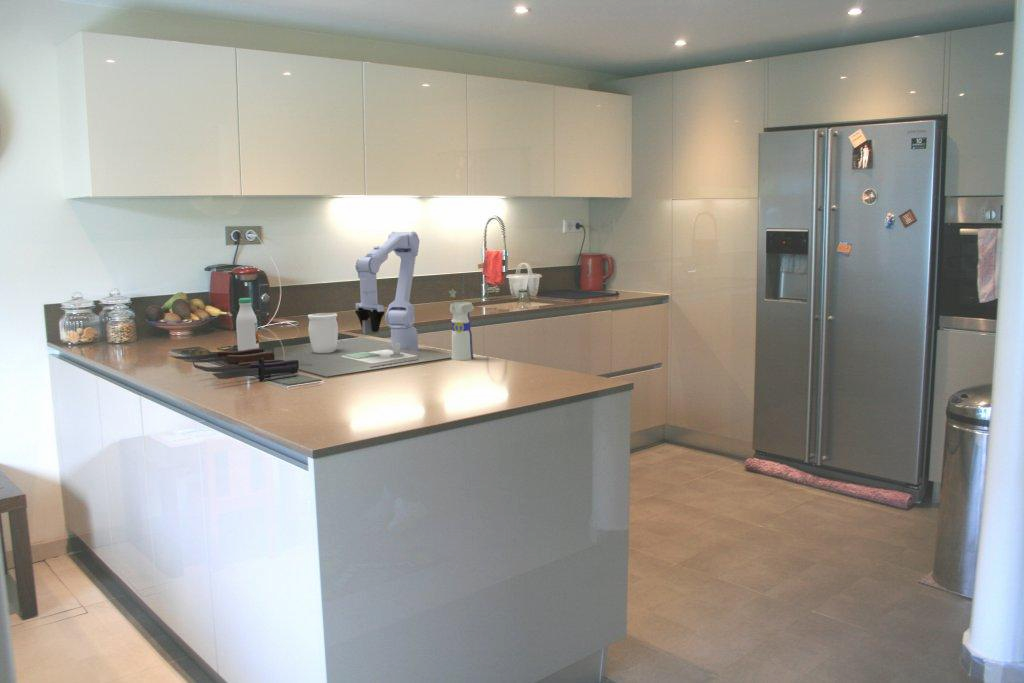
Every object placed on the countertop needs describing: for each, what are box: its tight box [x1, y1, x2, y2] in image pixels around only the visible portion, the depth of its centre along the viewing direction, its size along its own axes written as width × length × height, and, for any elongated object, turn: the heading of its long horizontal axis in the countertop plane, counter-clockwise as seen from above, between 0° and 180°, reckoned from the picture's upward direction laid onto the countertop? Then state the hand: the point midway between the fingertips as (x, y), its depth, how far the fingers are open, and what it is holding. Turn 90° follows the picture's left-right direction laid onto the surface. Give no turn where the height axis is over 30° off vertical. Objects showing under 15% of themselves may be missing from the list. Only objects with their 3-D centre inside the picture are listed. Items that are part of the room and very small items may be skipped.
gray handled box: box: [361, 317, 379, 335], centre depth 289 cm, size 5×5×5 cm
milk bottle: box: [235, 297, 260, 351], centre depth 315 cm, size 8×8×20 cm
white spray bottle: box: [448, 288, 475, 361], centre depth 289 cm, size 8×9×25 cm
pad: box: [343, 351, 380, 359], centre depth 291 cm, size 9×9×1 cm
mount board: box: [340, 343, 419, 369], centre depth 290 cm, size 19×20×6 cm
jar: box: [307, 312, 339, 354], centre depth 302 cm, size 11×10×15 cm
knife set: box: [170, 347, 300, 382], centre depth 270 cm, size 35×33×8 cm
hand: (370, 330), depth 289 cm, fingers closed on gray handled box, 6 cm apart
